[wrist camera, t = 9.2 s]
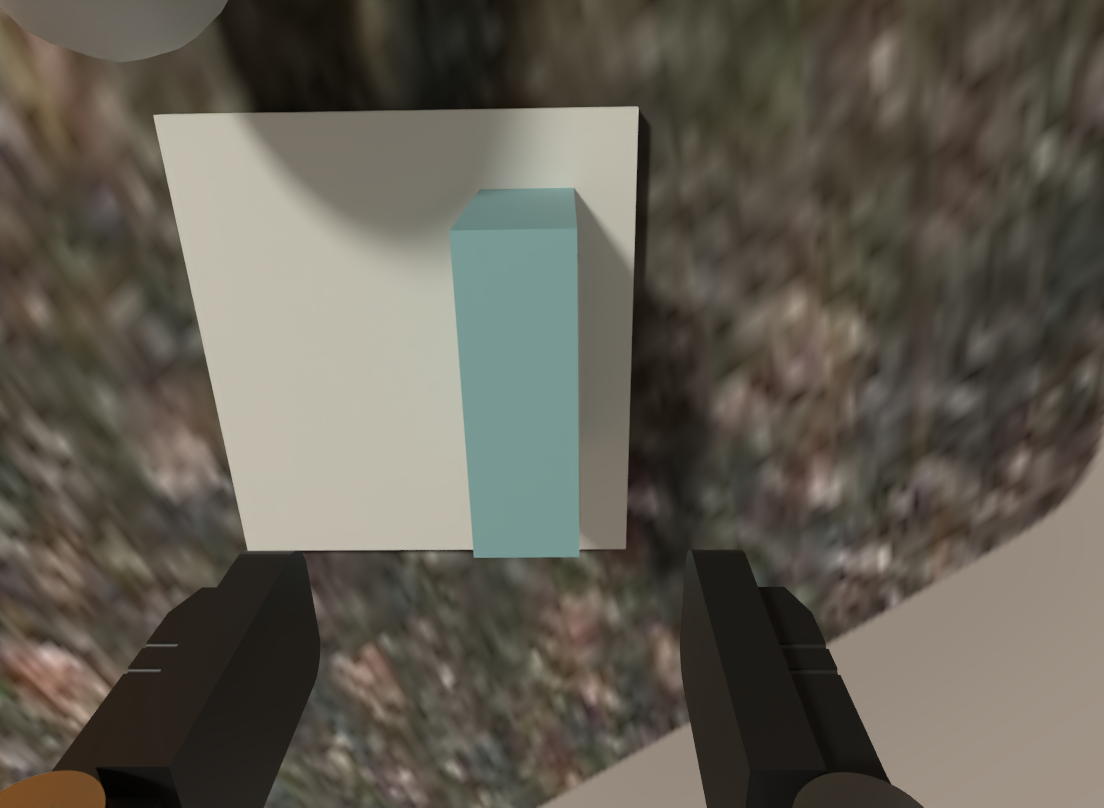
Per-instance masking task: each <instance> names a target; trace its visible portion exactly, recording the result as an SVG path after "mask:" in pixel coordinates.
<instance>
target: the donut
mask: <svg viewBox="0 0 1104 808" xmlns="http://www.w3.org/2000/svg"><path fill="white" fill-rule="evenodd" d="M227 1H228V0H0V8H1V9H2V10H3V11H5V12H6V13H7V14H8V15H9V16H10V17H11V18H12V19H13V20H14V21H15V22H16V23H17V24H18V25H20V26H21V27H22V28H23V29H24V30H26V31H28V32H30V33H32V34H34V35H36V36H38V37H40V38H42V39H44V40H46V41H48V42H50V43H52V44H55V45H58V46H61V47H64V48H67V49H70V50H73V51H76V52H79V53H82V54H85V55H88V56H91V57H94V58H99V59H104V60H110V61H116V62H121V63H123V62H128V61H134V60H140V59H146V58H149V57H153V56H156V55H159V54H163V53H166V52H170V51H173V50H177V49H179V48H181V47H182V46H184V45H185V44H187V43H188V42H190V41H191V40H193V39H194V38H196V37H197V36H198V35H199V34H200V33H201V32H202V31H203V30H204V29H205V28H206V27H207V26H208V25H209V24H210V23H211V22H212V21H213V20H214V19H215V18H216V17H217V16H218V15H219V14H220V13H221V12H222V10H223V8H224V7H225V5H226V3H227Z"/></svg>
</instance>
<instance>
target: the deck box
mask: <svg viewBox="0 0 1104 808" xmlns="http://www.w3.org/2000/svg"><path fill="white" fill-rule="evenodd" d="M449 235H450V248H451V261H452V276H453V289H454V303H455V316H456V329H457V342H458V355H459V369H460V382H461V395H462V408H463V421H464V435H465V448H466V461H467V474H468V487H469V501H470V514H471V525H472V539H473V552H474V558H501V557H579V523H581V433H580V263H579V254H577V220H576V208H575V196H574V188H525V189H480V190H479V191H478V193H477V194H476V195H475V197H474V198H473V199H472V201H471V202H470V203H469V205H468V206H467V207H466V209H465V210H464V211H463V213H462V214H461V216H460V217H459V218H458V220H457V221H456V222H455V224H454V225H453V226H452V228H451V229H450V230H449Z"/></svg>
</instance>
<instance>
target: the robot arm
mask: <svg viewBox="0 0 1104 808" xmlns="http://www.w3.org/2000/svg"><path fill="white" fill-rule="evenodd" d="M680 658H681V671H682V680H683V686H684V691H685V697H686V702H687V707H688V712H689V717H690V722H691V727H692V733H693V738H694V742H695V748H696V753H697V758H698V763H699V769H700V774H701V779H702V784H703V789H704V794H705V799H706V805H707V808H924V807H923V806H922V805H920V804H919V803H918V802H917V801H916V800H914V799H913V798H912V797H911V796H909V795H908V794H906V793H905V792H903V791H902V790H900V789H899V788H897V787H895V786H893V785H891V783H890V781H889V779H888V777H887V776H886V773H885V771H884V769H883V767H882V765H881V762H880V760H879V758H878V756H877V754H876V752H875V749H874V747H873V745H872V743H871V741H870V739H869V736H868V734H867V732H866V730H865V728H864V725H863V723H862V721H861V719H860V717H859V715H858V712H857V710H856V708H855V706H854V704H853V702H852V699H851V697H850V695H849V693H848V691H847V688H846V686H845V684H844V682H843V680H842V677H841V676H840V675H838V673H837V667H836V664H835V662H834V660H833V658H832V656H831V654H830V651H829V649H826V643H825V640H824V638H823V636H822V634H821V632H820V630H819V627H818V625H817V623H816V621H815V619H814V616H813V614H812V612H811V611H809V610H808V609H807V608H806V607H805V606H804V605H803V604H802V603H801V602H800V601H799V600H798V599H797V598H796V597H795V596H793V595H792V594H791V593H790V592H789V591H788V590H787V589H786V588H785V587H758V586H757V583H756V581H755V578H754V575H753V573H752V570H751V567H750V565H749V562H748V560H747V557H746V555H745V553H744V551H743V550H688V552H687V556H686V563H685V577H684V591H683V606H682V620H681V635H680ZM319 660H320V637H319V631H318V625H317V620H316V614H315V608H314V603H313V597H312V592H311V586H310V581H309V575H308V570H307V565H306V561H305V558H304V556H303V554H302V553H301V552H300V551H244V552H242V553H241V554H240V555H239V556H238V557H237V559H236V560H235V561H234V563H233V564H232V566H231V567H230V569H229V570H228V572H227V573H226V575H225V576H224V578H223V579H222V581H221V582H220V584H219V585H218V587H217V588H201V589H200V590H198V591H197V592H196V593H194V594H193V595H192V596H190V597H189V598H188V599H186V600H185V601H184V602H182V603H181V604H180V605H178V606H177V607H176V608H174V609H173V610H172V611H170V612H169V613H168V614H167V615H166V617H165V618H164V620H163V621H162V622H161V624H160V625H159V626H158V628H157V629H156V630H155V632H154V633H153V634H152V636H151V637H150V639H149V640H148V641H147V646H146V648H142V649H141V651H140V652H139V653H138V655H137V656H136V658H135V659H134V660H133V662H132V663H131V664H130V666H129V667H128V673H127V674H123V675H122V677H121V678H120V679H119V681H118V682H117V683H116V685H115V686H114V687H113V689H112V690H111V691H110V693H109V694H108V696H107V697H106V698H105V700H104V701H103V702H102V704H101V705H100V706H99V708H98V709H97V710H96V712H95V713H94V715H93V716H92V717H91V719H90V720H89V721H88V723H87V724H86V725H85V727H84V728H83V729H82V731H81V732H80V734H79V735H78V736H77V738H76V739H75V740H74V742H73V743H72V744H71V746H70V747H69V748H68V750H67V751H66V753H65V754H64V755H63V757H62V758H61V759H60V761H59V762H58V763H57V765H56V766H55V767H54V769H53V770H52V772H48V773H43V774H39V775H36V776H33V777H30V778H27V779H24V780H22V781H20V782H17V783H15V784H13V785H10V786H9V787H7V788H5V789H3V790H1V791H0V808H263V807H264V805H265V803H266V800H267V798H268V795H269V793H270V790H271V788H272V786H273V783H274V781H275V778H276V776H277V773H278V771H279V769H280V766H281V764H282V761H283V759H284V756H285V754H286V752H287V749H288V747H289V744H290V742H291V739H292V737H293V735H294V732H295V730H296V727H297V725H298V722H299V720H300V718H301V715H302V713H303V710H304V708H305V705H306V703H307V701H308V698H309V696H310V693H311V691H312V688H313V686H314V683H315V680H316V677H317V672H318V667H319Z"/></svg>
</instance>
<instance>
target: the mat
mask: <svg viewBox="0 0 1104 808" xmlns="http://www.w3.org/2000/svg"><path fill="white" fill-rule="evenodd" d="M638 113H639V107H637V106H632V107H571V108H510V109H448V110H387V111H326V112H265V113H204V114H161V115H153V116H154V121H155V125H156V130H157V135H158V139H159V144H160V148H161V153H162V158H163V162H164V167H165V171H166V176H167V181H168V185H169V190H170V194H171V199H172V204H173V208H174V213H175V217H176V222H177V227H178V231H179V236H180V240H181V245H182V250H183V254H184V259H185V263H186V268H187V273H188V277H189V282H190V287H191V291H192V296H193V300H194V305H195V310H196V314H197V319H198V323H199V328H200V333H201V337H202V342H203V346H204V351H205V356H206V360H207V365H208V369H209V374H210V379H211V383H212V388H213V392H214V397H215V402H216V406H217V411H218V415H219V420H220V425H221V429H222V434H223V438H224V443H225V448H226V452H227V457H228V461H229V466H230V471H231V475H232V480H233V485H234V489H235V494H236V498H237V503H238V508H239V512H240V517H241V521H242V526H243V531H244V535H245V540H246V544H247V549H248V551H276V550H473V539H472V525H471V514H470V501H469V487H468V474H467V461H466V448H465V435H464V421H463V408H462V395H461V382H460V369H459V355H458V342H457V329H456V316H455V303H454V289H453V276H452V261H451V248H450V235H449V230H450V229H451V228H452V226H453V225H454V224H455V222H456V221H457V220H458V218H459V217H460V216H461V214H462V213H463V211H464V210H465V209H466V207H467V206H468V205H469V203H470V202H471V201H472V199H473V198H474V197H475V195H476V194H477V193H478V191H479V190H480V189H525V188H574V196H575V208H576V220H577V254H579V263H580V433H581V523H579V549H626V524H627V490H628V456H629V421H630V387H631V353H632V319H633V284H634V250H635V216H636V181H637V147H638Z"/></svg>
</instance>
